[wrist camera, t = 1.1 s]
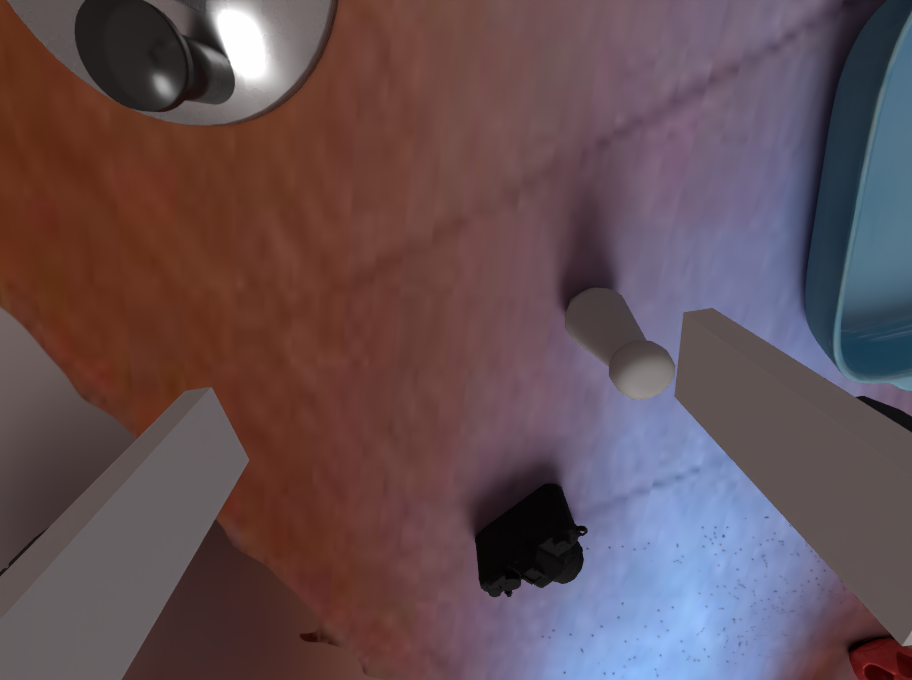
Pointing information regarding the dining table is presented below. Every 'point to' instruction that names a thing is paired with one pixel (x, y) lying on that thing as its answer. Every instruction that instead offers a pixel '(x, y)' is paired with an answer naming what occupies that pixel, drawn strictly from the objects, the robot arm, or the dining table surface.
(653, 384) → the salt shaker
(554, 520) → the film camera
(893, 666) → the pomegranate
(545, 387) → the dining table surface
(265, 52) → the levelling base
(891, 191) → the casserole dish
